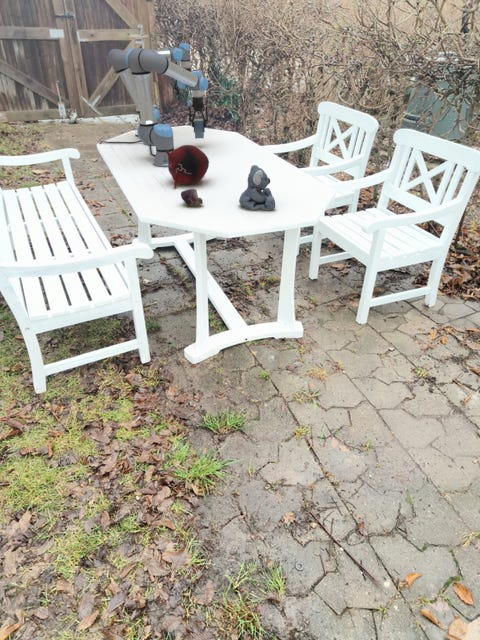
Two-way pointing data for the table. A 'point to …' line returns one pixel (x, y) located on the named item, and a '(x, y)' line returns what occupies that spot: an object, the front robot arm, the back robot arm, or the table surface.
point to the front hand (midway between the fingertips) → (199, 132)
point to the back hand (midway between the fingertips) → (187, 99)
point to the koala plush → (257, 191)
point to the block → (199, 128)
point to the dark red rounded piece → (187, 164)
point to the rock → (191, 197)
